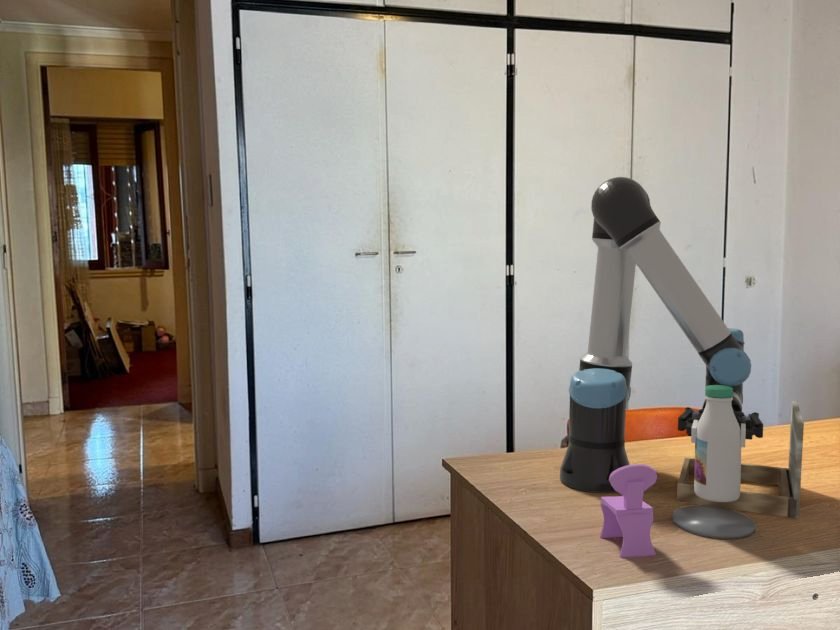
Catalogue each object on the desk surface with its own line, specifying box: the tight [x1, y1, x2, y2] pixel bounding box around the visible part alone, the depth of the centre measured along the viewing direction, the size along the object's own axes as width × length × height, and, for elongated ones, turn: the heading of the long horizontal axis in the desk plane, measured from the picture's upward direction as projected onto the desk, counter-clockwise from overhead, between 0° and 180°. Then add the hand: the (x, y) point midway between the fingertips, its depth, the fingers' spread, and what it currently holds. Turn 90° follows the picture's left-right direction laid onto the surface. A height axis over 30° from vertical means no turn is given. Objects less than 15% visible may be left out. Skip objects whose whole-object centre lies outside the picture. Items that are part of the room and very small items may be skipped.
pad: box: [671, 504, 756, 540], centre depth 134 cm, size 14×14×1 cm
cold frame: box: [676, 400, 805, 519], centre depth 149 cm, size 22×20×18 cm
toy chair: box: [599, 463, 658, 558], centre depth 124 cm, size 8×9×15 cm
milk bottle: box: [693, 385, 742, 502], centre depth 131 cm, size 8×8×20 cm
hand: (718, 437), depth 130 cm, fingers closed on milk bottle, 7 cm apart
